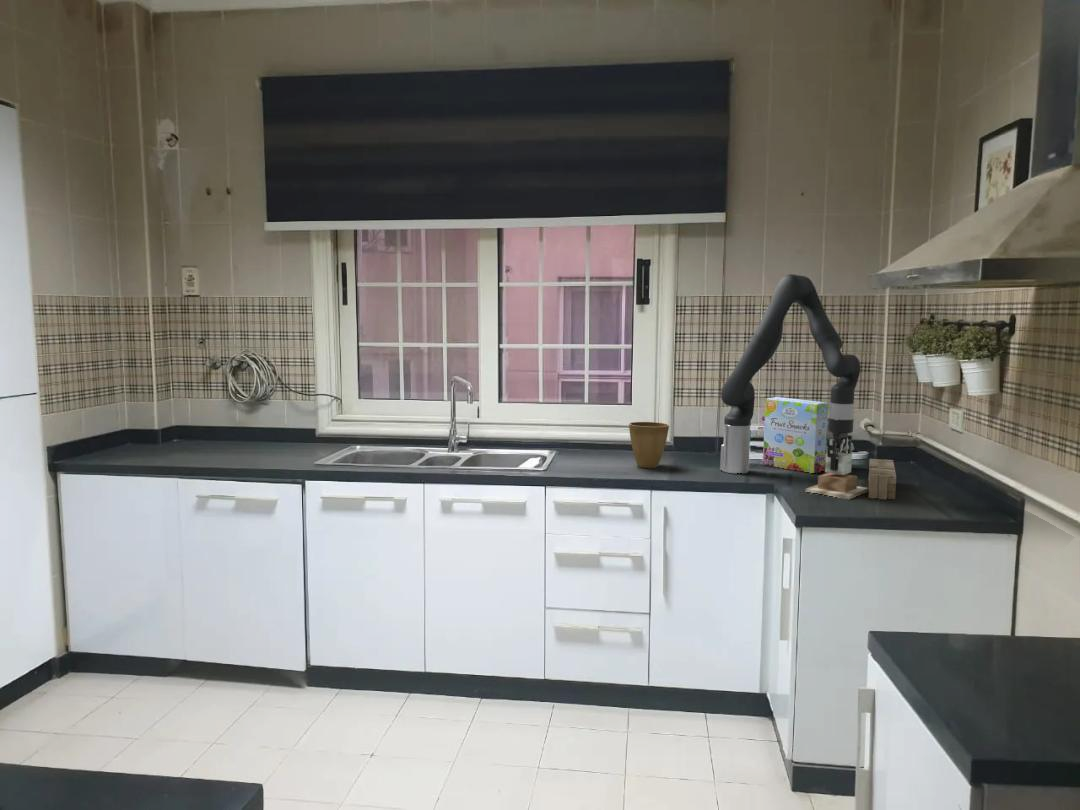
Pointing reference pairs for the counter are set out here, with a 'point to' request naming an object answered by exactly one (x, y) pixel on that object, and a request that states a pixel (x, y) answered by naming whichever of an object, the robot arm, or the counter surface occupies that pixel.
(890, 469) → the block tower
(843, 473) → the sage cube
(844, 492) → the base board
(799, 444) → the snack box
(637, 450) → the plant pot
